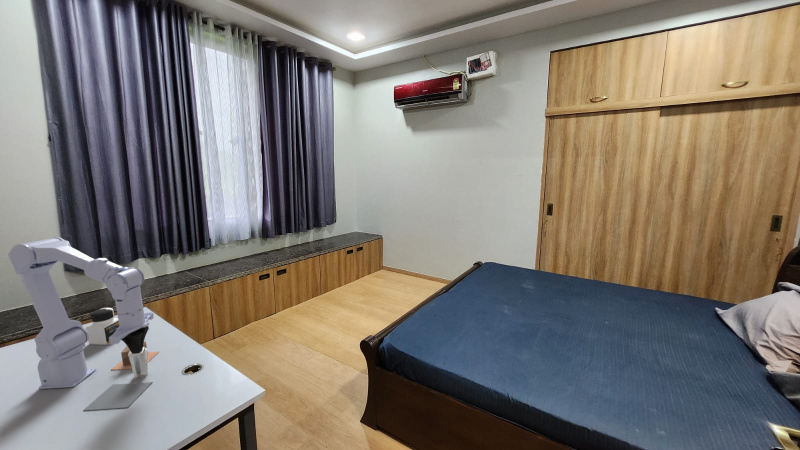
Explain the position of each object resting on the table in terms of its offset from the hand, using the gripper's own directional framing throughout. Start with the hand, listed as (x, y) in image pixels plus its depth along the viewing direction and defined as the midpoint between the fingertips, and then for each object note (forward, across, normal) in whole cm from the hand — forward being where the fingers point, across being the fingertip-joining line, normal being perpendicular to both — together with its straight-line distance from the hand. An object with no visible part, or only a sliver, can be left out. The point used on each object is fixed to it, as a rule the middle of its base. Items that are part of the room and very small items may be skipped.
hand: (137, 352), depth 92 cm
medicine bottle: (+11, +26, +30) cm, 41 cm away
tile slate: (+10, -5, +2) cm, 12 cm away
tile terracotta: (+10, +12, +10) cm, 18 cm away
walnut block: (+10, +12, +10) cm, 18 cm away
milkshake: (+10, +4, +2) cm, 11 cm away
